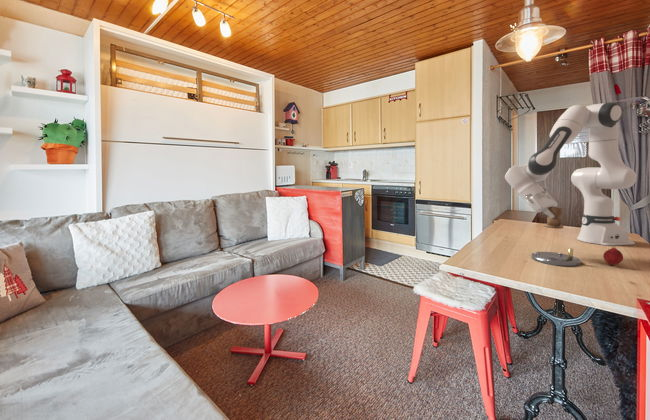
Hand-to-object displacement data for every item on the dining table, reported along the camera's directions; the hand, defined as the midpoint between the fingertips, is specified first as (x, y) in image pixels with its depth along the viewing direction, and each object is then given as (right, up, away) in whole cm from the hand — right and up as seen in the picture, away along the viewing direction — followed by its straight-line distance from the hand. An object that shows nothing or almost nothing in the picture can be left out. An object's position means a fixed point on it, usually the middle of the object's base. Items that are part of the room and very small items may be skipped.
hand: (556, 216), depth 134 cm
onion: (+13, -20, -12) cm, 27 cm away
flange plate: (-3, -19, -4) cm, 20 cm away
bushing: (0, -5, +1) cm, 5 cm away
